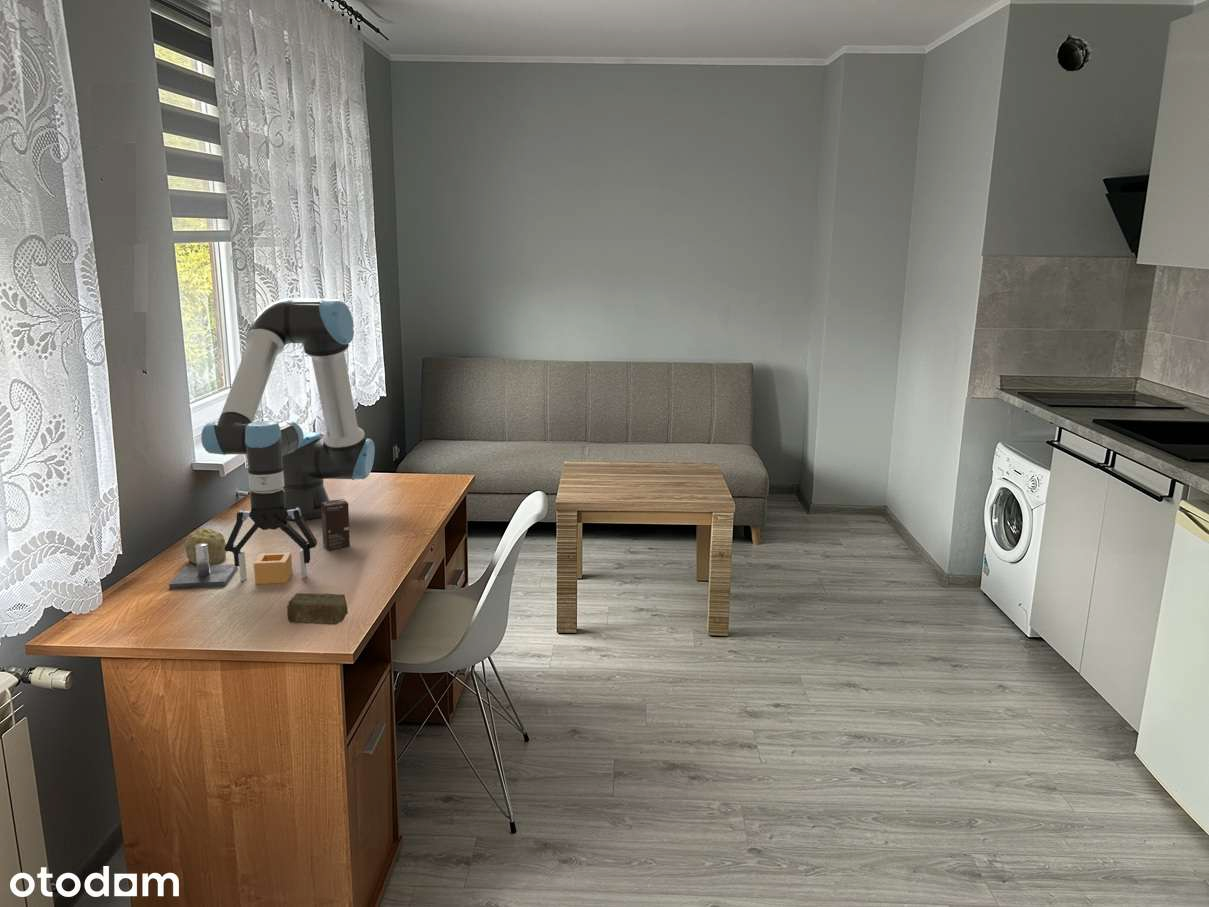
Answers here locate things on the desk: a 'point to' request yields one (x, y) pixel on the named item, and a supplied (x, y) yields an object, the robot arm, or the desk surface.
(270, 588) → the desk surface
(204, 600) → the desk surface
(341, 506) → the box
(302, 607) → the stone block
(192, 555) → the decorative item
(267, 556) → the tan square-hole block
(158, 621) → the desk surface
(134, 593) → the desk surface
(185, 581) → the keeper
